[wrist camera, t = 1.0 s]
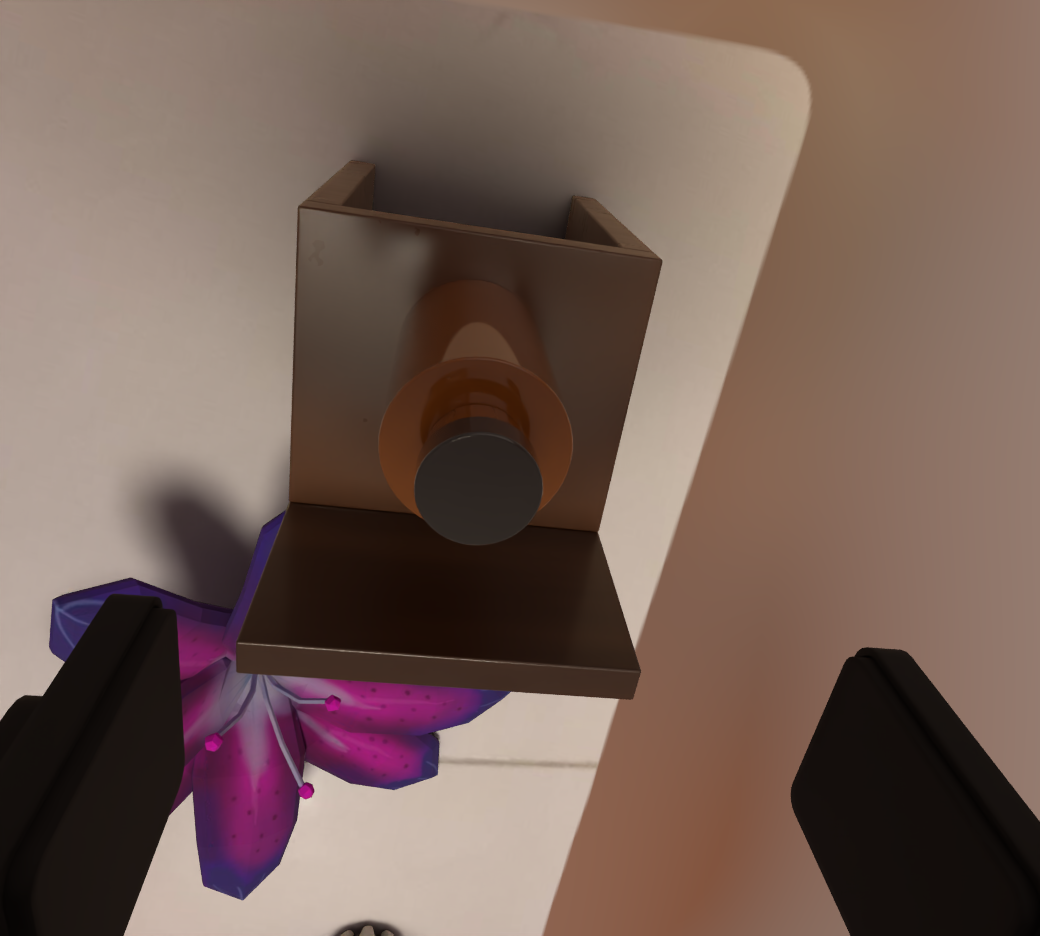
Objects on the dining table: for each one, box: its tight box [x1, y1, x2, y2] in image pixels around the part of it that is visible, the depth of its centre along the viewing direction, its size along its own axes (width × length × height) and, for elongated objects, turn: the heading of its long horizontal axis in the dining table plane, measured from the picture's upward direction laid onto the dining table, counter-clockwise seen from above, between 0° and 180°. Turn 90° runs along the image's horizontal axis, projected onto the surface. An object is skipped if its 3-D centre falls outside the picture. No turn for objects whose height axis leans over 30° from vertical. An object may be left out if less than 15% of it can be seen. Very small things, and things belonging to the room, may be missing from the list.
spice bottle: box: [378, 279, 573, 545], centre depth 23 cm, size 5×5×10 cm
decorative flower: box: [49, 510, 510, 900], centre depth 45 cm, size 31×31×10 cm
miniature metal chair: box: [236, 160, 662, 700], centre depth 31 cm, size 12×12×22 cm
